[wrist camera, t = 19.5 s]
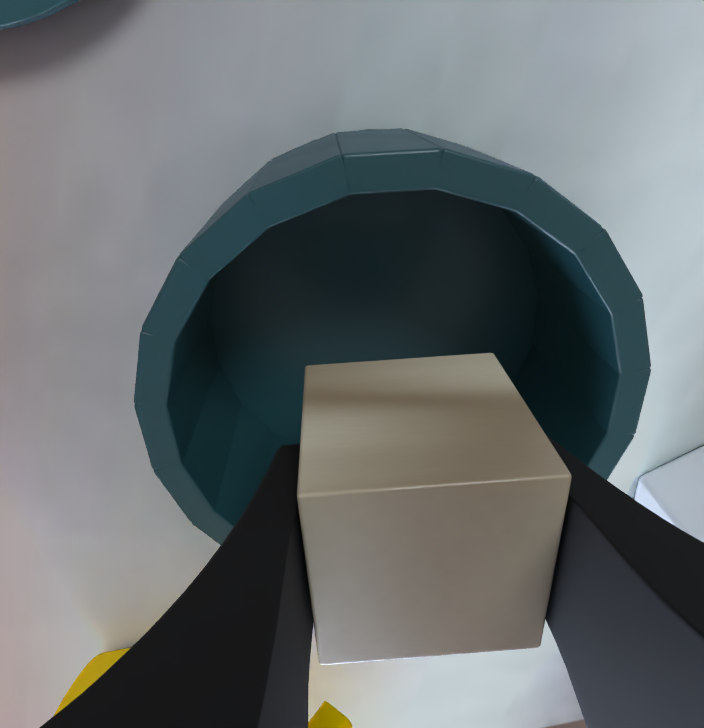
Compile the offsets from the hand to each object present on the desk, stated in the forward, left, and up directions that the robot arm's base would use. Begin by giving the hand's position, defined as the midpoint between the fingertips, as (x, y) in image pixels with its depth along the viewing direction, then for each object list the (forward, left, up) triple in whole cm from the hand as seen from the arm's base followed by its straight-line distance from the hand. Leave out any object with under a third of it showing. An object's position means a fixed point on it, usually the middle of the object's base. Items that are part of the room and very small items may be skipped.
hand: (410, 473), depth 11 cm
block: (0, 0, -1) cm, 1 cm away
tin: (0, 0, -8) cm, 8 cm away
